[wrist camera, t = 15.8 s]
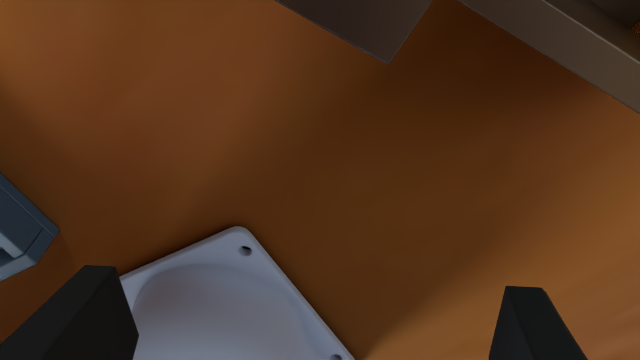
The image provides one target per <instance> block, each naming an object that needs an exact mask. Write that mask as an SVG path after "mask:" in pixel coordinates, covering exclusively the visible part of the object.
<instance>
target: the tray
mask: <svg viewBox="0 0 640 360" xmlns="http://www.w3.org/2000/svg"><path fill="white" fill-rule="evenodd" d="M59 231H60V230H59V229H58V228H57V227H56V226H55V225H54V224H53V223H52V222H51V221H50V220H49V219H48V218H47V217H46V216H45V215H44V214H43V213H42V212H41V211H40V210H39V209H37V208H36V207H35V206H34V205H33V204H32V203H31V202H30V201H29V200H28V199H27V198H26V197H25V196H24V195H23V194H22V193H21V192H20V191H19V190H18V189H17V188H16V187H15V186H14V185H13V184H11V183H10V182H9V181H8V180H7V179H6V178H5V177H4V176H3V175H2V174H1V173H0V282H1V281H3V280H5V279H7V278H9V277H11V276H13V275H15V274H17V273H19V272H21V271H23V270H25V269H28V268H30V267H32V266H34V265H36V264H37V263H38V261H39V260H40V259H41V257H42V256H43V254H44V253H45V251H46V250H47V248H48V247H49V245H50V244H51V242H52V241H53V239H54V238H55V237H56V235H57V234H58V232H59Z"/></svg>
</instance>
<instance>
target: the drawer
mask: <svg viewBox="0 0 640 360" xmlns="http://www.w3.org/2000/svg"><path fill="white" fill-rule="evenodd" d="M457 1H459V2H460V3H462V4H464V5H465V6H467V7H468V8H470V9H472V10H473V11H475V12H477V13H478V14H480V15H481V16H483V17H485V18H486V19H488V20H489V21H491V22H493V23H494V24H496V25H497V26H499V27H501V28H502V29H504V30H505V31H507V32H509V33H510V34H512V35H513V36H515V37H517V38H518V39H520V40H521V41H523V42H525V43H526V44H528V45H529V46H531V47H533V48H534V49H536V50H537V51H539V52H541V53H542V54H544V55H545V56H547V57H549V58H550V59H552V60H553V61H555V62H557V63H558V64H560V65H561V66H563V67H565V68H566V69H568V70H569V71H571V72H573V73H574V74H576V75H578V76H579V77H581V78H582V79H584V80H586V81H587V82H589V83H590V84H592V85H594V86H595V87H597V88H598V89H600V90H602V91H603V92H605V93H606V94H608V95H610V96H611V97H613V98H614V99H616V100H618V101H619V102H621V103H622V104H624V105H626V106H627V107H629V108H630V109H632V110H634V111H635V112H637V113H638V114H640V36H639V35H638V34H637V33H636V32H635V31H634V30H633V29H632V27H633V26H634V25H635V24H636V23H637V21H638V20H639V19H640V0H457Z"/></svg>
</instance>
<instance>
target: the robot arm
mask: <svg viewBox="0 0 640 360" xmlns="http://www.w3.org/2000/svg"><path fill="white" fill-rule="evenodd" d="M241 246H247V247H249V248H250V249H244V248H242V247H241ZM335 354H337V355H335ZM0 360H355V359H354V358H353V356H352V355H351V354H350V353H349V352H348V350H347V349H346V348H345V347H344V345H343V344H342V343H341V342H340V341H339V339H338V338H337V337H336V336H335V335H334V333H333V332H332V331H331V330H330V328H329V327H328V326H327V325H326V324H325V322H324V321H323V320H322V319H321V318H320V316H319V315H318V314H317V313H316V311H315V310H314V309H313V308H312V307H311V305H310V304H309V303H308V302H307V301H306V299H305V298H304V297H303V296H302V294H301V293H300V292H299V291H298V290H297V288H296V287H295V286H294V285H293V284H292V282H291V281H290V280H289V279H288V277H287V276H286V275H285V274H284V273H283V271H282V270H281V269H280V268H279V266H278V265H277V264H276V263H275V262H274V260H273V259H272V258H271V257H270V256H269V254H268V253H267V252H266V251H265V249H264V248H263V247H262V246H261V245H260V243H259V242H258V241H257V240H256V239H255V237H254V236H253V235H252V234H251V232H250V231H248V230H247V229H246V228H244V227H240V226H235V227H231V228H229V229H227V230H224V231H222V232H220V233H218V234H215V235H213V236H211V237H208V238H206V239H204V240H202V241H199V242H197V243H195V244H192V245H190V246H188V247H186V248H183V249H181V250H179V251H177V252H174V253H172V254H170V255H167V256H165V257H163V258H161V259H158V260H156V261H154V262H151V263H149V264H147V265H145V266H142V267H140V268H138V269H136V270H133V271H131V272H129V273H126V274H124V275H122V276H120V277H119V275H118V272H117V269H116V267H112V266H92V265H85V266H84V267H82V268H81V269H80V270H79V271H78V272H77V273H76V274H75V275H74V276H73V277H72V278H71V279H70V280H68V281H67V282H66V283H65V284H64V285H63V286H62V287H61V288H60V289H59V290H58V291H57V292H56V293H55V294H54V295H53V296H52V297H51V298H49V299H48V300H47V301H46V302H45V303H44V304H43V305H42V306H41V307H40V308H39V309H38V310H37V311H36V312H35V313H34V314H33V315H32V316H31V317H30V318H28V319H27V320H26V321H25V322H24V323H23V324H22V325H21V326H20V327H19V328H18V329H17V330H16V331H15V332H13V333H12V334H11V335H10V336H9V337H8V338H7V339H6V340H5V341H4V342H3V343H2V344H0ZM489 360H588V359H587V358H586V356H585V355H584V353H583V351H582V350H581V348H580V347H579V345H578V344H577V342H576V341H575V339H574V338H573V336H572V334H571V333H570V331H569V330H568V328H567V327H566V325H565V323H564V322H563V320H562V318H561V317H560V315H559V314H558V312H557V310H556V309H555V307H554V305H553V304H552V302H551V300H550V298H549V297H548V295H547V293H546V292H545V291H544V290H543V289H542V288H537V287H517V286H506V287H505V291H504V296H503V300H502V304H501V308H500V312H499V316H498V320H497V324H496V329H495V333H494V337H493V341H492V345H491V349H490V353H489Z"/></svg>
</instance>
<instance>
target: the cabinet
mask: <svg viewBox="0 0 640 360" xmlns="http://www.w3.org/2000/svg"><path fill="white" fill-rule="evenodd" d="M275 1H277V2H278V3H280V4H282V5H284V6H285V7H287V8H289V9H291V10H292V11H294V12H296V13H298V14H299V15H301V16H303V17H305V18H306V19H308V20H310V21H311V22H313V23H315V24H317V25H318V26H320V27H322V28H324V29H325V30H327V31H329V32H331V33H332V34H334V35H336V36H338V37H339V38H341V39H343V40H345V41H346V42H348V43H350V44H352V45H353V46H355V47H357V48H359V49H360V50H362V51H364V52H366V53H367V54H369V55H371V56H373V57H374V58H376V59H378V60H380V61H381V62H383V63H385V64H389V63H390V62H391V61H392V60H393V58H394V57H395V55H396V54H397V52H398V51H399V49H400V48H401V47H402V45H403V44H404V42H405V41H406V39H407V38H408V36H409V35H410V34H411V32H412V31H413V29H414V28H415V26H416V25H417V23H418V22H419V20H420V19H421V18H422V16H423V15H424V13H425V12H426V10H427V9H428V7H429V6H430V5H431V3H432V2H433V0H275Z"/></svg>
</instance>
